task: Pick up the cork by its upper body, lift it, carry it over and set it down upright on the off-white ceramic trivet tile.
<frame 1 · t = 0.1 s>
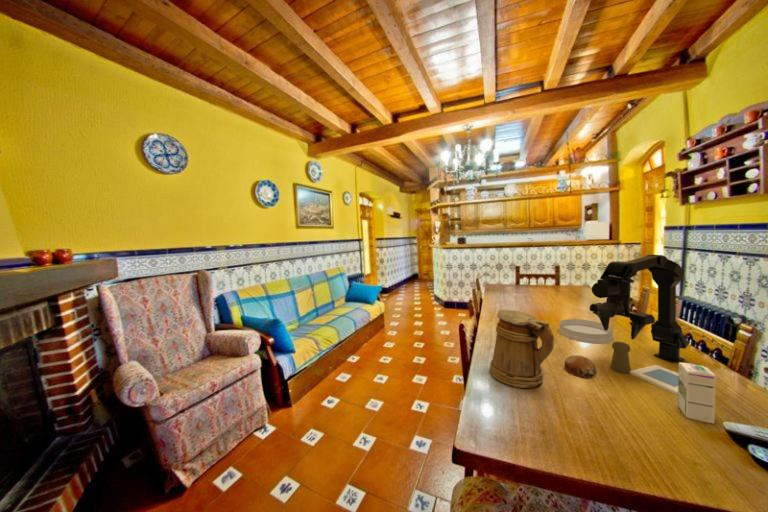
hand: (618, 334, 99), 15 cm above the table, fingers open, 9 cm apart
tankard: (521, 378, 99), on the table
syrup box: (694, 415, 76), on the table
bread roll: (580, 372, 101), on the table
dish: (584, 335, 134), on the table
cork: (620, 370, 101), on the table
trivet: (666, 380, 93), on the table
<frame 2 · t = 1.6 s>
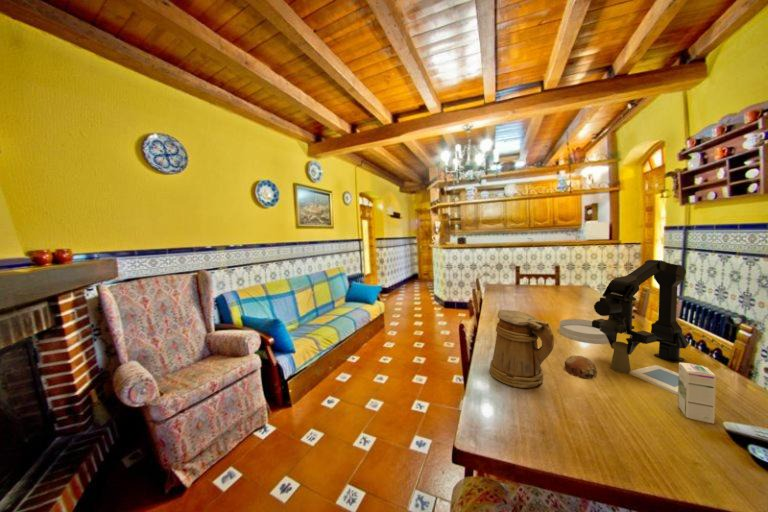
hand: (620, 351, 100), 8 cm above the table, fingers closed on cork, 5 cm apart
cork: (620, 370, 101), on the table, touching gripper
everything else where it was.
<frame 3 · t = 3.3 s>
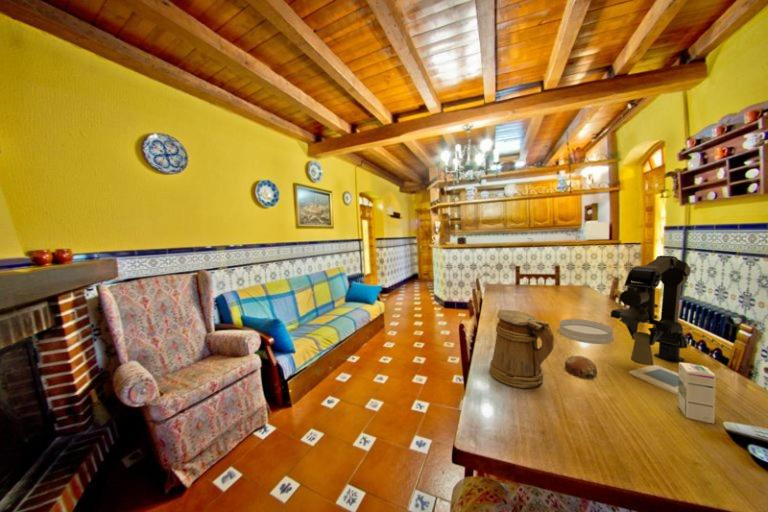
hand: (642, 342, 96), 13 cm above the table, fingers closed on cork, 5 cm apart
cork: (641, 361, 97), point 5 cm above the table, touching gripper
everything else where it was.
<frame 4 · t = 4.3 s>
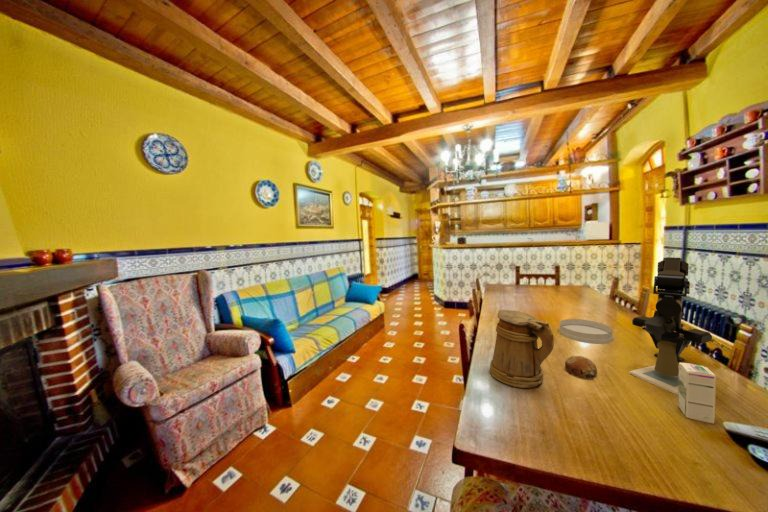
hand: (667, 351, 92), 11 cm above the table, fingers closed on cork, 5 cm apart
cork: (666, 372, 93), point 3 cm above the table, touching gripper
everything else where it was.
when the fingers open (10 cm above the table, at t = 4.9 s): cork drops 1 cm, resting on trivet.
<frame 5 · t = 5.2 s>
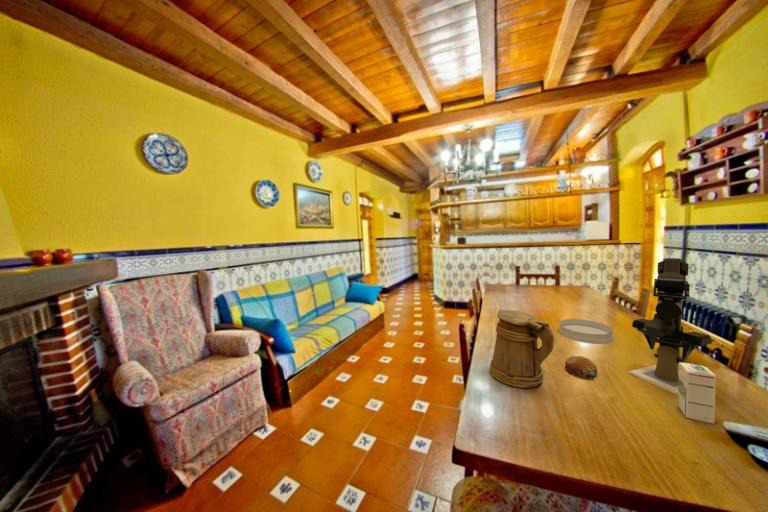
hand: (667, 354, 92), 10 cm above the table, fingers open, 8 cm apart
cork: (666, 377, 93), point 1 cm above the table, touching trivet
everything else where it was.
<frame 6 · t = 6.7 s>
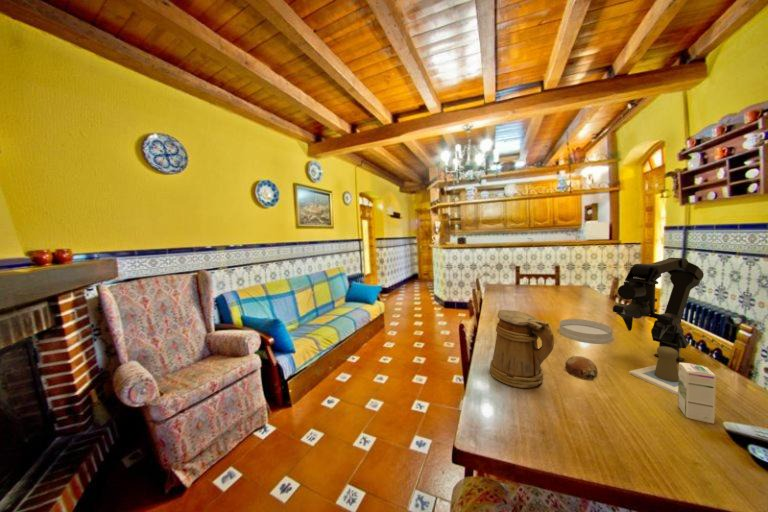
hand: (643, 334, 102), 13 cm above the table, fingers open, 9 cm apart
nothing on the table moved.
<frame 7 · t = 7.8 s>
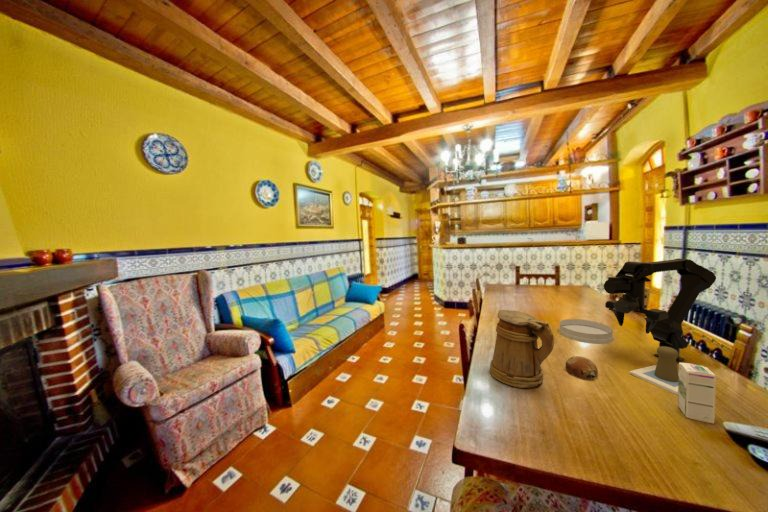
hand: (633, 329, 107), 13 cm above the table, fingers open, 9 cm apart
nothing on the table moved.
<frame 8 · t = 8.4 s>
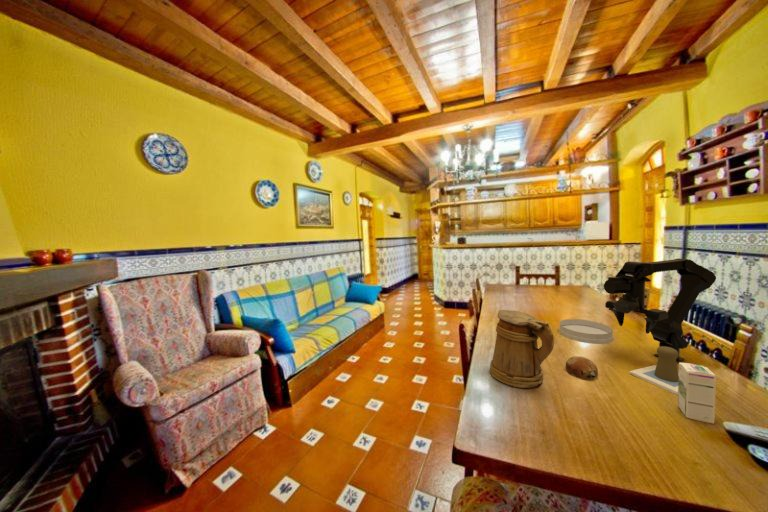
hand: (633, 329, 107), 13 cm above the table, fingers open, 9 cm apart
nothing on the table moved.
at the end: cork inside the target area on the trivet (0.0 cm from its centre), point 0.9 cm above the trivet's base; cork tilted 0°; the gripper is holding nothing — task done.
